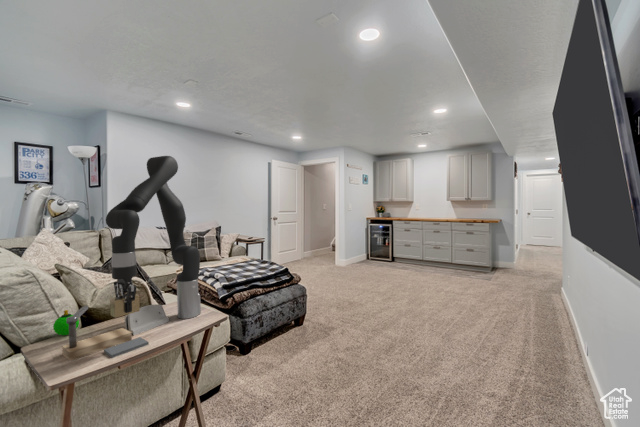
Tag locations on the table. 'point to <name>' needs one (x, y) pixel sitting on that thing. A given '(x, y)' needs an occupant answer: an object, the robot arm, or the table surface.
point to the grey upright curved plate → (145, 319)
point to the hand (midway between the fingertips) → (125, 310)
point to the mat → (125, 347)
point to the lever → (76, 315)
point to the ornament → (63, 324)
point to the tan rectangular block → (118, 306)
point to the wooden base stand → (93, 342)
